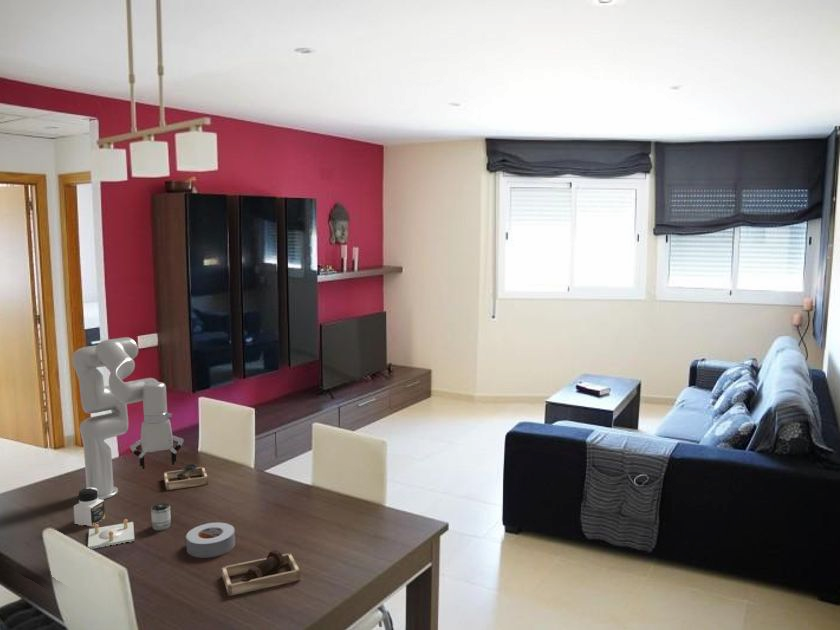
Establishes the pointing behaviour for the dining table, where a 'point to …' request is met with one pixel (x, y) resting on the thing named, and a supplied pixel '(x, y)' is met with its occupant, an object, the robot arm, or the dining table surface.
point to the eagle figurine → (186, 472)
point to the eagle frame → (186, 482)
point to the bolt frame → (258, 582)
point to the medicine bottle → (89, 508)
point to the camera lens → (160, 516)
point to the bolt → (264, 566)
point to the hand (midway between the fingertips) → (158, 465)
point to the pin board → (111, 535)
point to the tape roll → (210, 540)
